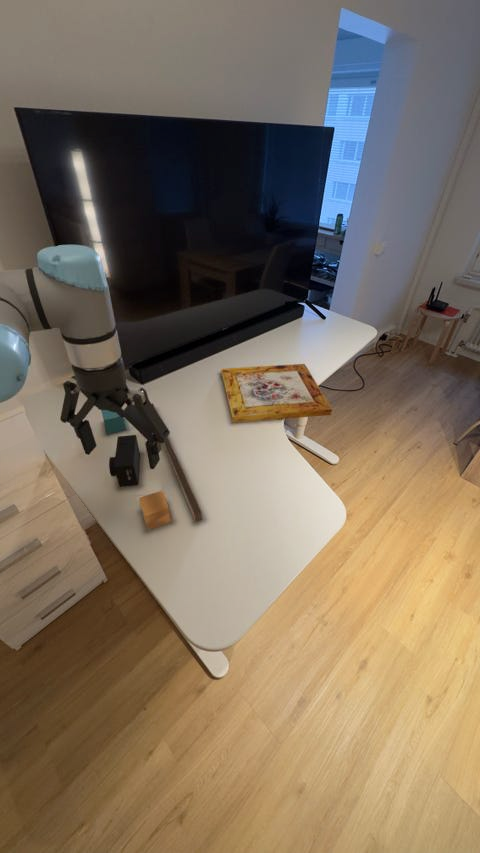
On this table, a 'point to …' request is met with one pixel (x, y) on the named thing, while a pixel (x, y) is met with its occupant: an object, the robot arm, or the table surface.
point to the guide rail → (182, 480)
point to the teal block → (113, 422)
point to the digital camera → (126, 461)
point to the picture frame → (272, 393)
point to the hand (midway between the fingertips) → (122, 457)
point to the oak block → (155, 510)
